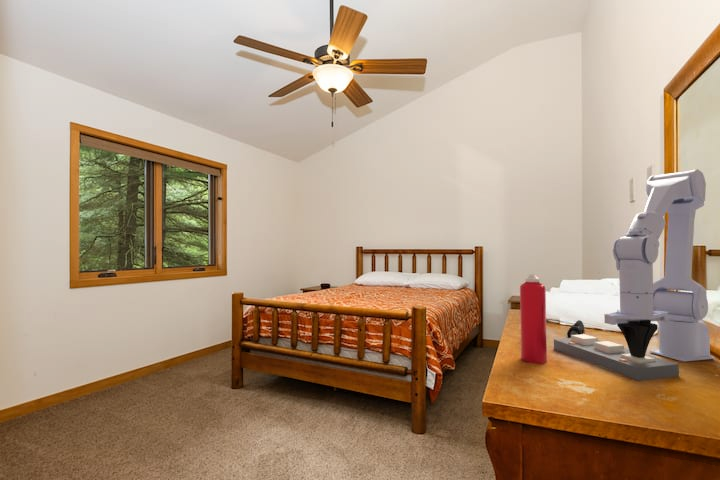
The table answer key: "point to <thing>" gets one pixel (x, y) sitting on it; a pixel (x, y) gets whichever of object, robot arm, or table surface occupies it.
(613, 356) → the key panel
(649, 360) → the key
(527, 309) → the bottle
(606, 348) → the key middle
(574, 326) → the electric trimmer
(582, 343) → the key
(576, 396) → the table surface
